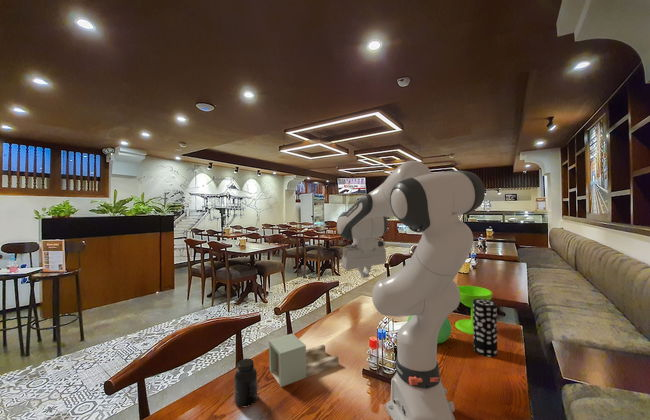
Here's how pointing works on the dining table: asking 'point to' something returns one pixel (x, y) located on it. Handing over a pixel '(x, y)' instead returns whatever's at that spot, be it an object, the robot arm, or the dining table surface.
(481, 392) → the dining table surface
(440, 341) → the gravy boat
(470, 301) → the wineglass
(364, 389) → the dining table surface
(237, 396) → the supplement bottle
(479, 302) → the white-spotted black cylinder
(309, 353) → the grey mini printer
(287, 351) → the pale sage box
